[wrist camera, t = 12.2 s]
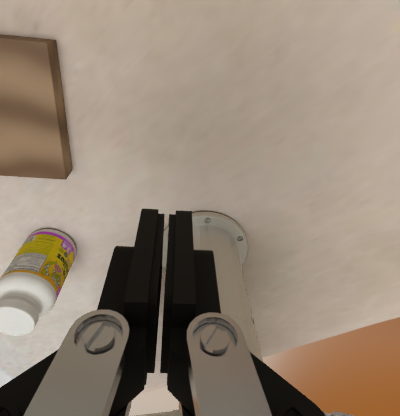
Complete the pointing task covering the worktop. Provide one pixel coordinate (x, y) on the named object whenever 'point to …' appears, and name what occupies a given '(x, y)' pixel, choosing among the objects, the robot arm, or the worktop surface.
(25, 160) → the brown wooden flat block
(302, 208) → the worktop surface
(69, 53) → the worktop surface
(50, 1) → the worktop surface
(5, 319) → the supplement bottle
